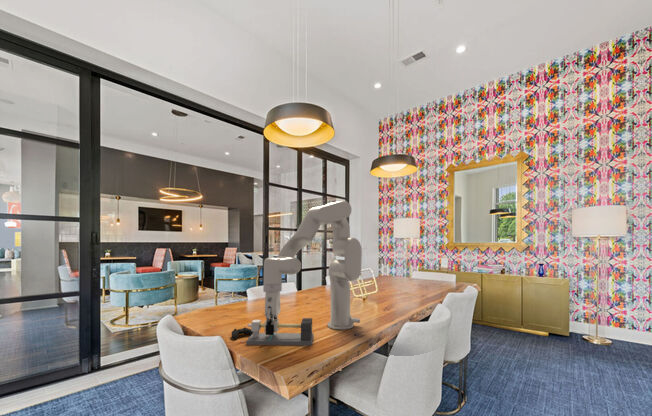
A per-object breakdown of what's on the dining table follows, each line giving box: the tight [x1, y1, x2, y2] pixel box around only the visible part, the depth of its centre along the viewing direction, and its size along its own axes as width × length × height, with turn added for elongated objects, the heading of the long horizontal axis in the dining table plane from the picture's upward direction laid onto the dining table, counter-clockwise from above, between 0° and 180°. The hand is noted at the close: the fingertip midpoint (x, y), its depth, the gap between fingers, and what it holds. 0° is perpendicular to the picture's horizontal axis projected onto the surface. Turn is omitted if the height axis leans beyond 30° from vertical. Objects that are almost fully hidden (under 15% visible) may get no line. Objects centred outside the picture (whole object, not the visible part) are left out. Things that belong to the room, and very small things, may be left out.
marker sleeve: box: [264, 318, 280, 333], centre depth 119 cm, size 5×4×4 cm
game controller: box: [231, 326, 253, 341], centre depth 124 cm, size 10×5×6 cm
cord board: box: [245, 317, 314, 346], centre depth 119 cm, size 27×10×8 cm, turn 89°
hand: (271, 331), depth 119 cm, fingers open, 6 cm apart
